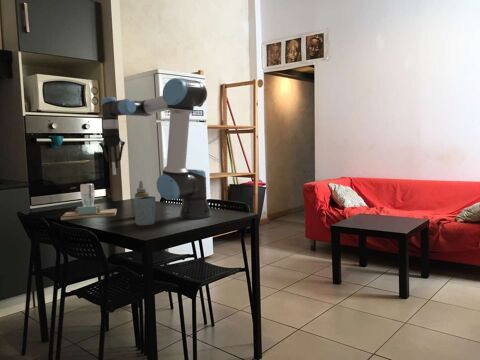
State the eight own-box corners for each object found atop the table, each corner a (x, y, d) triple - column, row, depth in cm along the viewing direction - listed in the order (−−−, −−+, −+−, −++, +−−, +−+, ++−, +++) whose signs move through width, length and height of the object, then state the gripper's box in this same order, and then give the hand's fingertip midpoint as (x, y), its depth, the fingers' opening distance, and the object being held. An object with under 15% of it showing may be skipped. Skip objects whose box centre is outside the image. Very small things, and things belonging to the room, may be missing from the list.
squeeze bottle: (147, 218, 206) (145, 181, 205) (131, 218, 208) (129, 182, 206) (153, 215, 214) (151, 180, 213) (139, 215, 216) (136, 180, 214)
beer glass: (98, 211, 226) (96, 183, 225) (90, 213, 220) (88, 184, 218) (87, 211, 228) (85, 183, 227) (79, 213, 222) (77, 185, 220)
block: (96, 214, 216) (96, 206, 216) (78, 215, 214) (77, 207, 214) (97, 213, 218) (96, 205, 218) (78, 214, 216) (78, 206, 215)
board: (114, 216, 217) (114, 208, 216) (60, 220, 211) (60, 212, 210) (116, 211, 233) (116, 204, 233) (66, 214, 227) (66, 207, 227)
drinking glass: (134, 226, 188) (133, 199, 186) (133, 222, 197) (132, 196, 196) (157, 224, 190) (156, 197, 189) (155, 220, 200) (154, 195, 199)
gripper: (124, 128, 220) (127, 173, 222) (98, 129, 217) (101, 175, 219) (124, 127, 213) (127, 174, 215) (96, 128, 210) (100, 176, 212)
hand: (114, 174), depth 217 cm, fingers closed
